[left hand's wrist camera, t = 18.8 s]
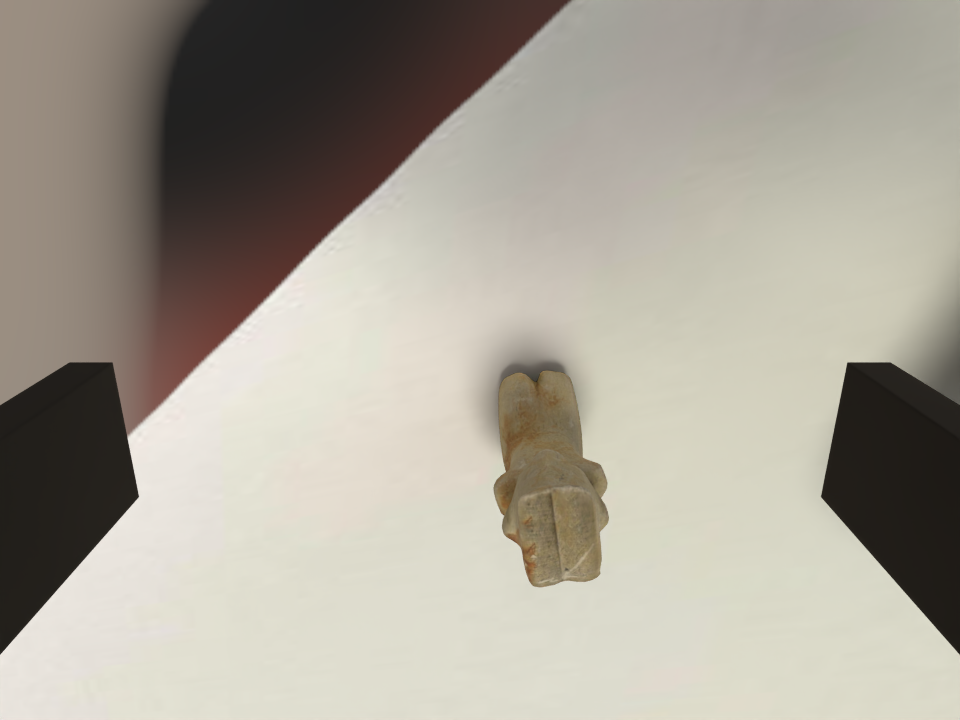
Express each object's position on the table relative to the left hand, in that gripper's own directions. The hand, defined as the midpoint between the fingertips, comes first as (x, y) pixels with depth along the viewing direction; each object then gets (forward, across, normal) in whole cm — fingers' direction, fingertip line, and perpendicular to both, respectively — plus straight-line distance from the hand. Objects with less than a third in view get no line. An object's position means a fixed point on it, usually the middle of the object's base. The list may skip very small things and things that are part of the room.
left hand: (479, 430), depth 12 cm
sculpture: (+29, +4, -13) cm, 32 cm away
